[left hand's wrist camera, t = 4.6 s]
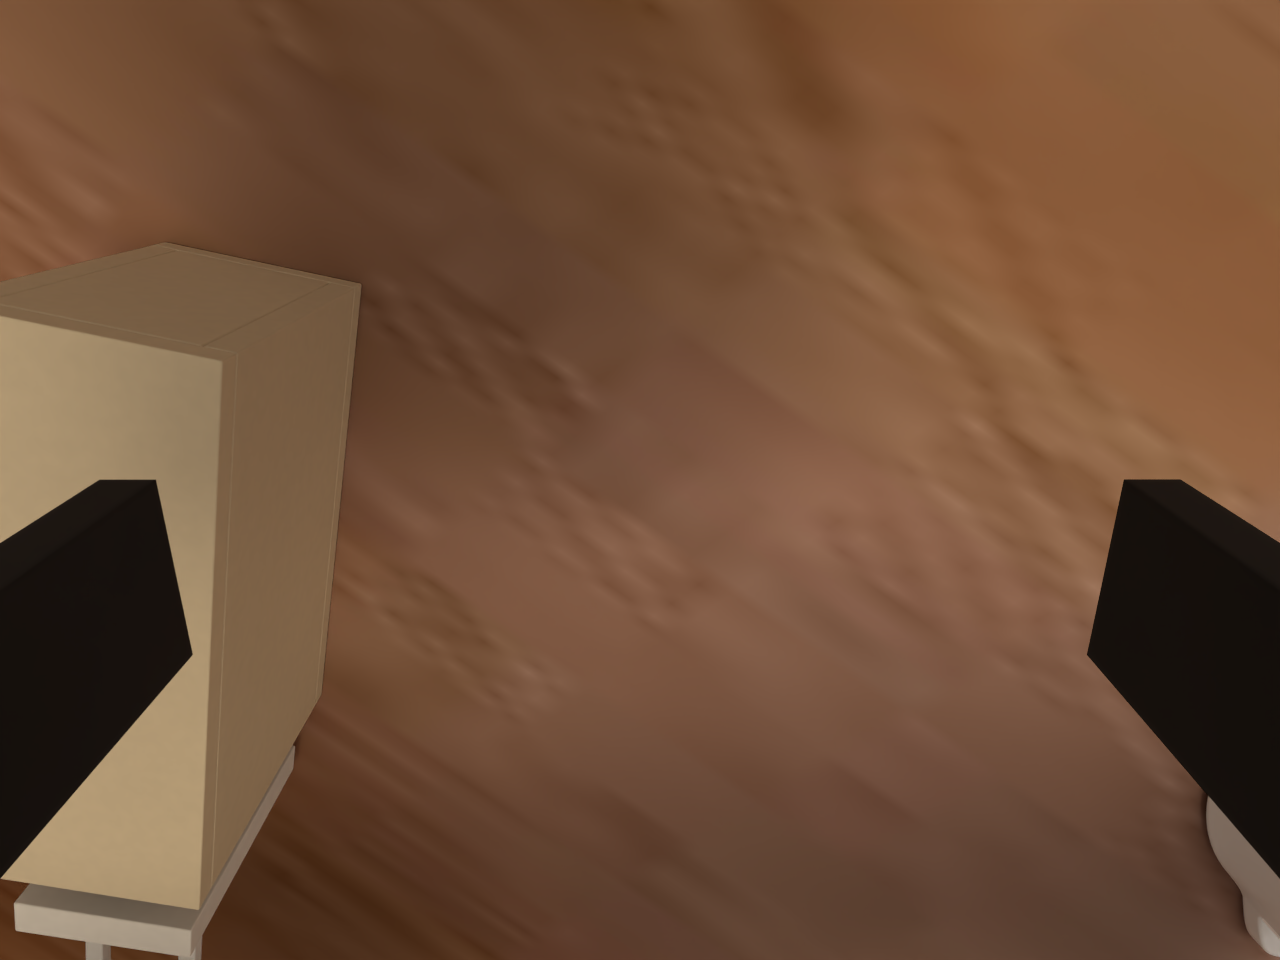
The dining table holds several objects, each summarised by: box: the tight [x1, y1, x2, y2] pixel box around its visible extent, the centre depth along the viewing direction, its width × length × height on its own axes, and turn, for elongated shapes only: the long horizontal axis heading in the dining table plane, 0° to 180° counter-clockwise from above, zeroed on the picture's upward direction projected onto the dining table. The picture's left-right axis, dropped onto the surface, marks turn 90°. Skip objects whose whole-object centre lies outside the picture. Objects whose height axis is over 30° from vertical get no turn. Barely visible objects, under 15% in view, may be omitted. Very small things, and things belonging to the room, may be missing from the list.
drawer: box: [14, 745, 295, 960], centre depth 30 cm, size 22×5×9 cm, turn 168°
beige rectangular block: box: [0, 242, 362, 910], centre depth 28 cm, size 17×7×11 cm, turn 168°
